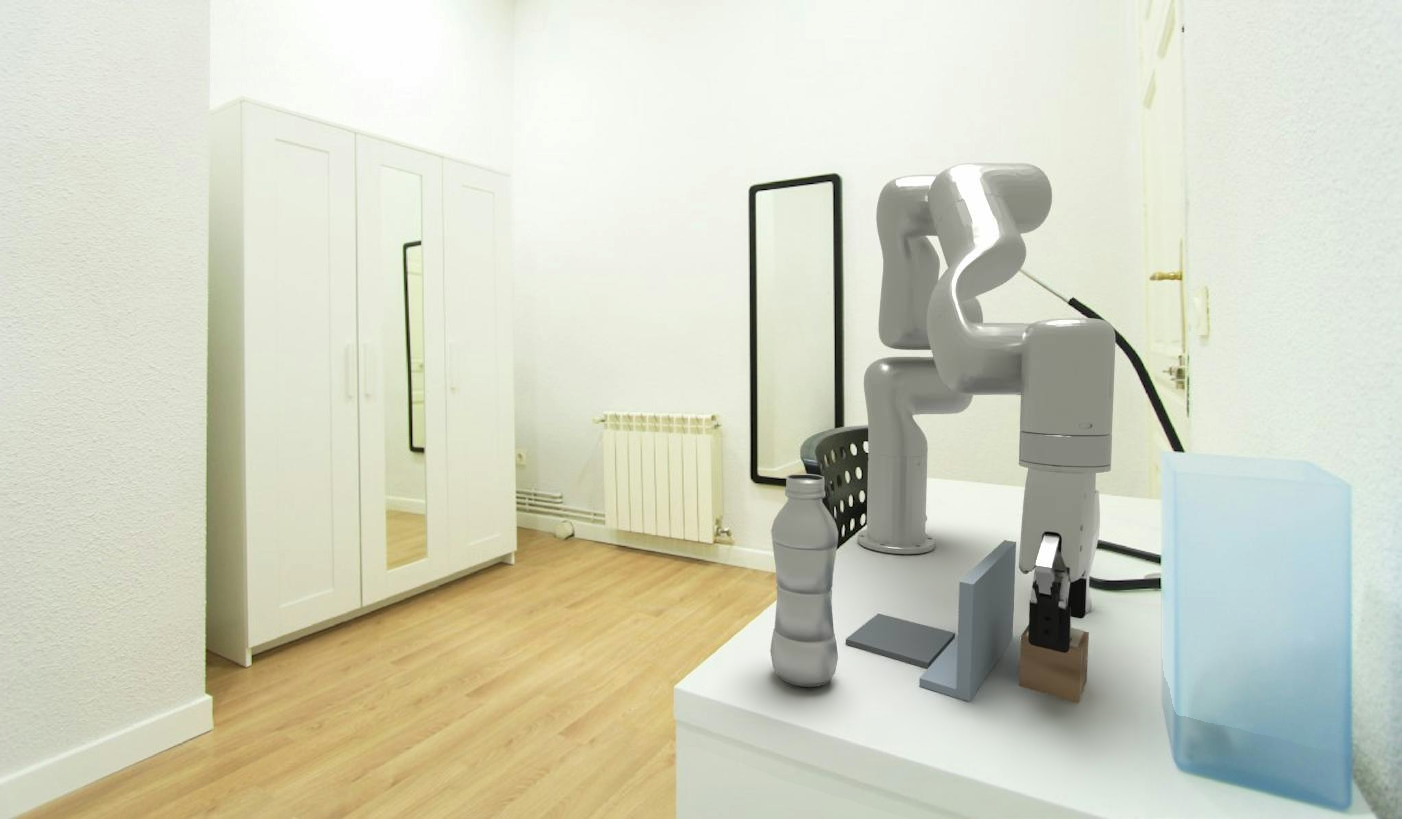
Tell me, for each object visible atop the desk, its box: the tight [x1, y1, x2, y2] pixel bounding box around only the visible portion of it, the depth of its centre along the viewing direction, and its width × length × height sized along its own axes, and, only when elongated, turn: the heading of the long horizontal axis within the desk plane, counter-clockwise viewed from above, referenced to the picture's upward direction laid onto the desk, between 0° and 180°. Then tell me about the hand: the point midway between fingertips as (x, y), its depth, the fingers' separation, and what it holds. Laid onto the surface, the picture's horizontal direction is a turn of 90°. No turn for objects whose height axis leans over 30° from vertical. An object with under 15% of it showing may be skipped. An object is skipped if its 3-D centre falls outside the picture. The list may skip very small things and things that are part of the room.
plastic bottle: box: [769, 473, 839, 688], centre depth 62 cm, size 6×7×20 cm
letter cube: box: [1018, 623, 1090, 704], centre depth 61 cm, size 5×5×5 cm
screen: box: [918, 540, 1017, 703], centre depth 66 cm, size 17×5×11 cm, turn 142°
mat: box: [845, 613, 956, 669], centre depth 71 cm, size 9×9×1 cm
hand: (1058, 630), depth 61 cm, fingers open, 9 cm apart
